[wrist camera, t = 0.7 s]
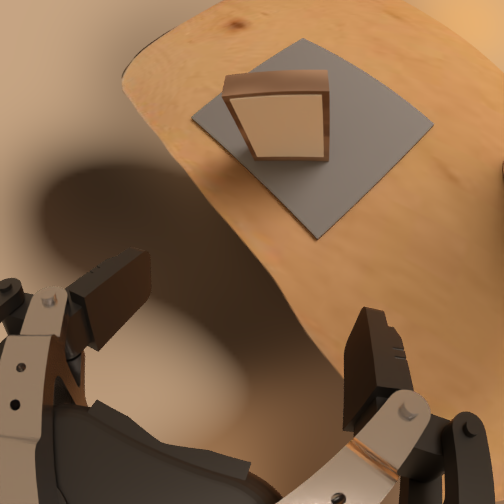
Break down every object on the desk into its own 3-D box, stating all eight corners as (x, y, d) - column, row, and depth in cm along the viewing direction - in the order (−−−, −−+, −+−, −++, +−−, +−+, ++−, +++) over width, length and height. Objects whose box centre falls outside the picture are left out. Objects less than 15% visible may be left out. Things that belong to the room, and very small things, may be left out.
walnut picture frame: (256, 142, 37) (225, 75, 24) (328, 142, 35) (327, 69, 21) (254, 162, 37) (220, 97, 23) (329, 162, 34) (329, 92, 21)
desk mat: (303, 40, 40) (302, 38, 39) (433, 125, 32) (434, 123, 31) (192, 118, 41) (191, 117, 41) (317, 239, 34) (317, 238, 33)
